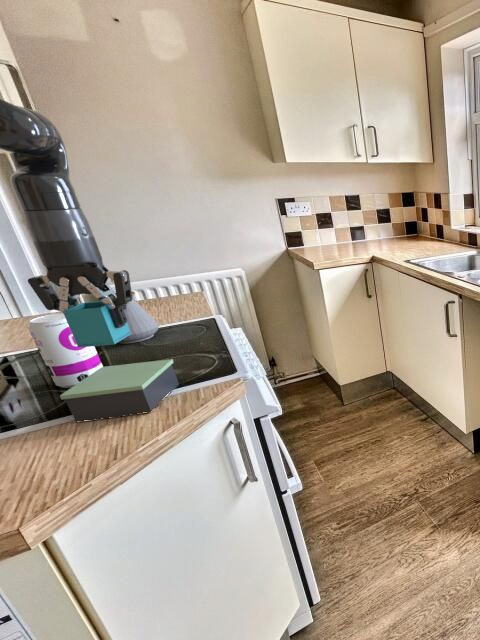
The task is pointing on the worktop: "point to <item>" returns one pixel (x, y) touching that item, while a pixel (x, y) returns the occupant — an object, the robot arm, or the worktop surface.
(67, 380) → the supplement can
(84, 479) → the worktop surface
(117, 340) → the teal container
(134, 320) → the coffee pot
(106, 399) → the green and grey box
